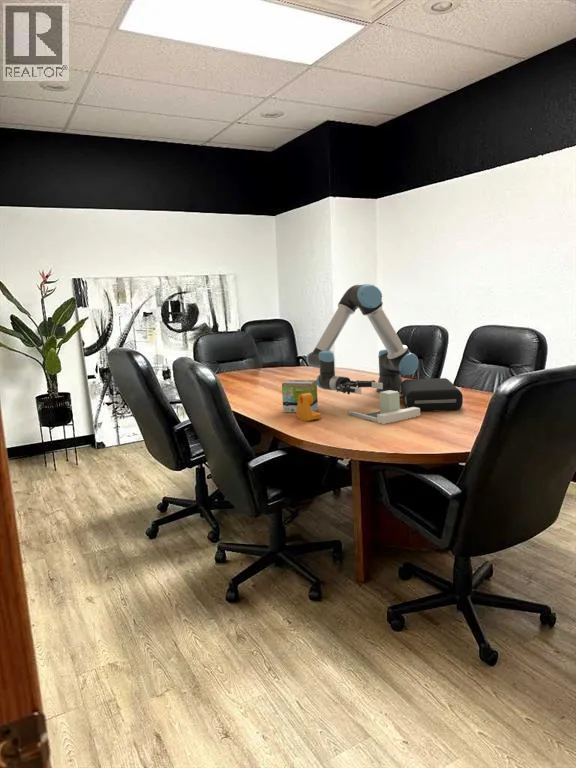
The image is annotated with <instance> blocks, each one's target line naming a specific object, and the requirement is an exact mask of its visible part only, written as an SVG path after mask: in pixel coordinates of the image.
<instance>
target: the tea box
mask: <svg viewBox="0 0 576 768" xmlns="http://www.w3.org/2000/svg"><path fill="white" fill-rule="evenodd" d="M281 393H282V395H281V396H282V397H281V398H282V411H283V413H296V411H297V404H298V397H299V395H300V394H305V393H311V394H312V396H313V404H311V405H310V408H311V411H314V412H316V410H318V408H319V407H318V405H319V403H318V386H317V379H316V380H315V379H287V380H286V381H284V382H283V383H281Z"/></svg>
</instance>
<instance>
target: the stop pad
mask: <svg viewBox="0 0 576 768" xmlns="http://www.w3.org/2000/svg"><path fill="white" fill-rule="evenodd" d="M378 414H380V411H374V412H369V413H365V415H368V416H372V417H376V418H377V415H378Z"/></svg>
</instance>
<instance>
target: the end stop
mask: <svg viewBox="0 0 576 768" xmlns="http://www.w3.org/2000/svg"><path fill="white" fill-rule="evenodd" d="M419 415H420V416H421V411H420V408H417V407H411V408H407V407H406V408H402V409H401V410H397V411H392V412H387V413H382V414H378V415H377V422H378V424H381V423H382V425H386V423H387V424H390V423H395V421H396V422H399V420H400V421H403V420H404V421H405V420H408V418H409V419H413V418H417V417H416V416H418V417H420V416H419ZM412 417H413V418H412ZM377 422H376V423H377Z"/></svg>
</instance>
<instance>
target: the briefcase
mask: <svg viewBox="0 0 576 768" xmlns="http://www.w3.org/2000/svg"><path fill="white" fill-rule="evenodd" d="M463 398H464V396H463V393H462V391H461V390H460V389H459V388H458V387H457V386H456V385H454V383H453V382H451V380H449V379H448V378H446V377H441V378H440V377H438V378H435V377H434V378H412V379H410V378H409V379H404V380H402V383H401V386H400V391H399V399H403V402H404V404H405V406H406V408H411V407H417V408H420V412H435V411H434V410H446V411H458V409H459V410H460V409H461V408H462V407H463V404H464V402H463Z"/></svg>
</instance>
